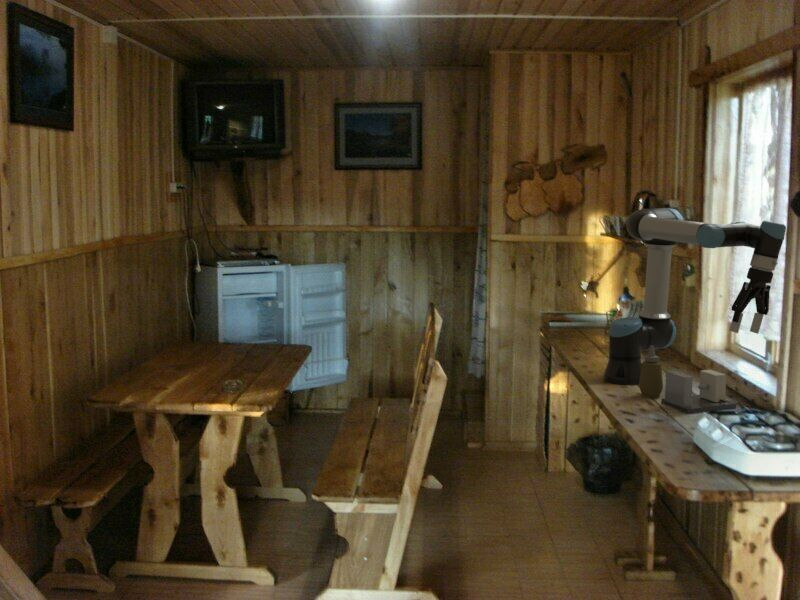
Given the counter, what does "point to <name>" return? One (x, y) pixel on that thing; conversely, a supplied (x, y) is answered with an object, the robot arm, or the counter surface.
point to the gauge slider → (713, 385)
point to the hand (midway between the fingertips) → (743, 332)
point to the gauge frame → (688, 395)
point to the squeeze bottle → (651, 376)
